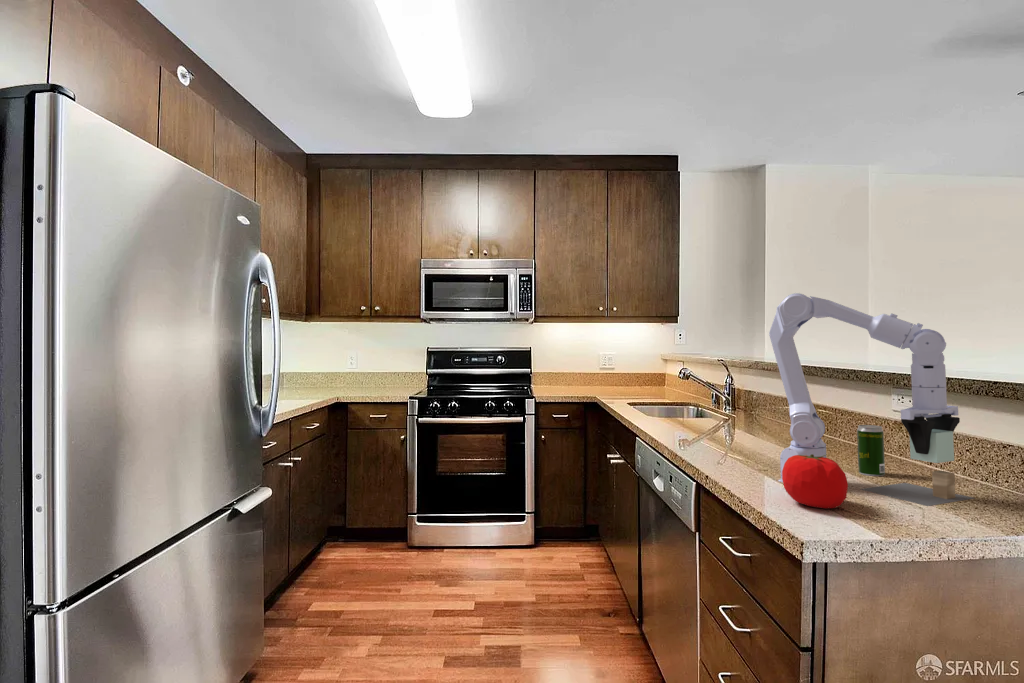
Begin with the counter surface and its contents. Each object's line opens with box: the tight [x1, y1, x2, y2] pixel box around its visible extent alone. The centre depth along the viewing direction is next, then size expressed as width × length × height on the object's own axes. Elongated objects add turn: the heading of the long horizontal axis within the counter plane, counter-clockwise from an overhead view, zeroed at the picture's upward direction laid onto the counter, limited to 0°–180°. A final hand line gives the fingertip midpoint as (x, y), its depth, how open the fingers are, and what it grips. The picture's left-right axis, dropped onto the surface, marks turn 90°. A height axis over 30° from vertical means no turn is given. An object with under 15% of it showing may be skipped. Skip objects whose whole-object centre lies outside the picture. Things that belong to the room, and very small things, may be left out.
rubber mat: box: [860, 482, 975, 507], centre depth 113 cm, size 14×14×1 cm
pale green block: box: [909, 429, 955, 464], centre depth 111 cm, size 5×5×6 cm
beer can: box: [856, 424, 886, 477], centre depth 131 cm, size 5×5×12 cm
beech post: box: [931, 470, 956, 499], centre depth 110 cm, size 3×3×5 cm
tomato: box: [782, 454, 849, 510], centre depth 108 cm, size 11×13×10 cm
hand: (931, 452), depth 111 cm, fingers closed on pale green block, 5 cm apart
